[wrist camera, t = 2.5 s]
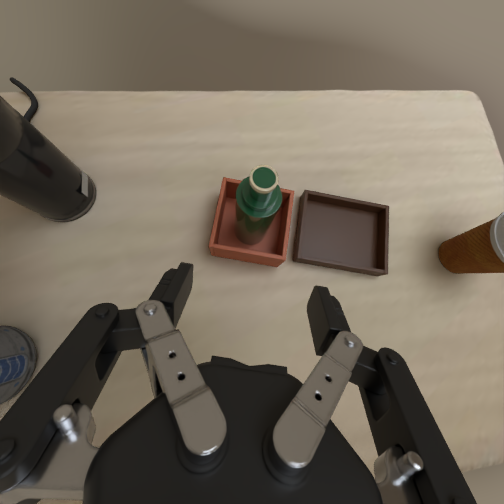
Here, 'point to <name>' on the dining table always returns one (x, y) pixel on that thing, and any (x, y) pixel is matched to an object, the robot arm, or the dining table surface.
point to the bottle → (256, 204)
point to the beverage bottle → (15, 361)
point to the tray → (342, 233)
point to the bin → (230, 247)
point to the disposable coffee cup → (476, 249)
